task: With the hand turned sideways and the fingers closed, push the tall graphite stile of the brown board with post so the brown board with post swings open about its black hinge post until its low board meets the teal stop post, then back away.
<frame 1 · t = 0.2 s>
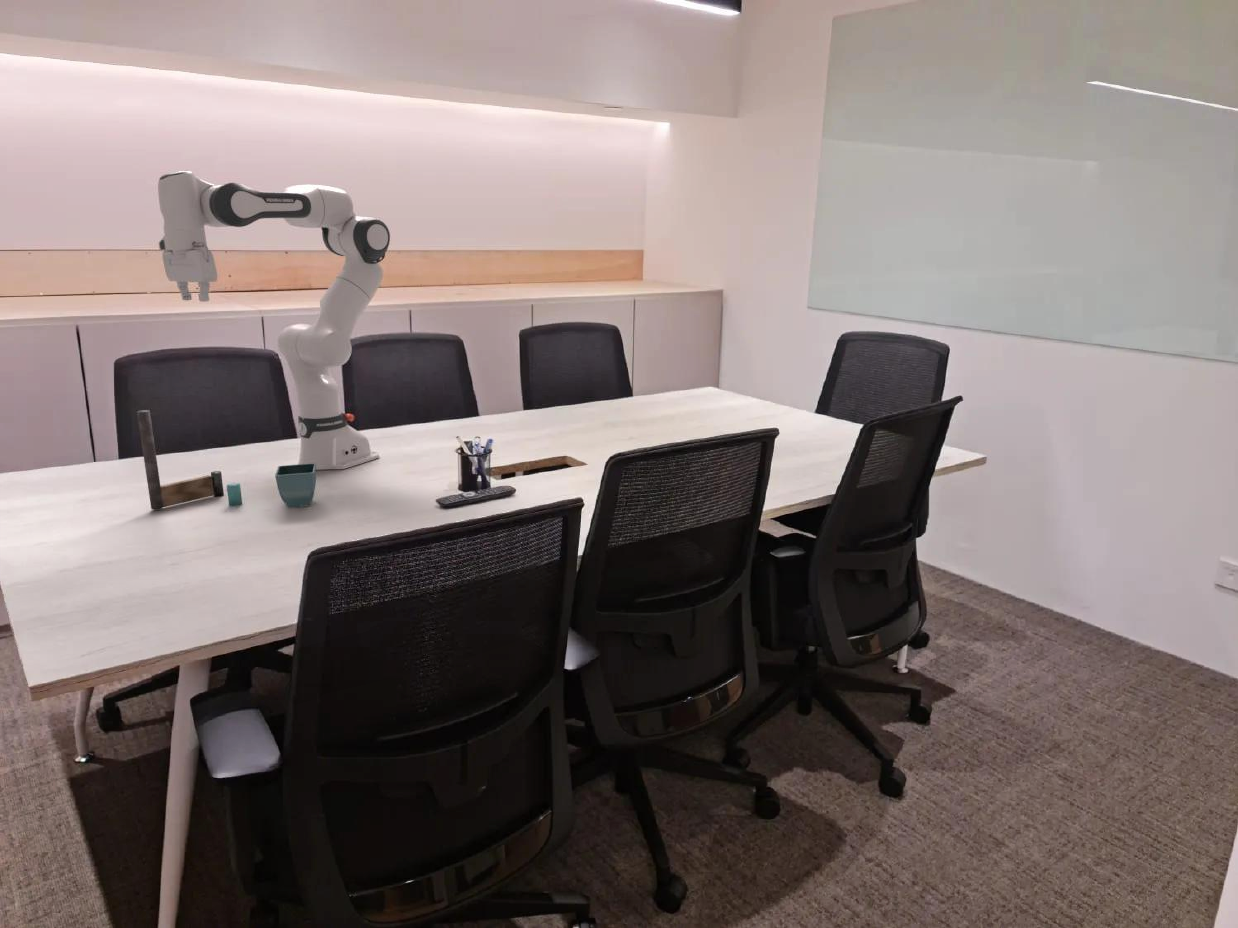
hand: (195, 300, 216), 48 cm above the table, tool pointing down, fingers open, 8 cm apart
hinge post: (218, 495, 223), on the table
flower pot: (299, 505, 216), on the table
brown board with post: (176, 455, 213), point 12 cm above the table, hinge at 0.0°
stop post: (235, 504, 216), on the table
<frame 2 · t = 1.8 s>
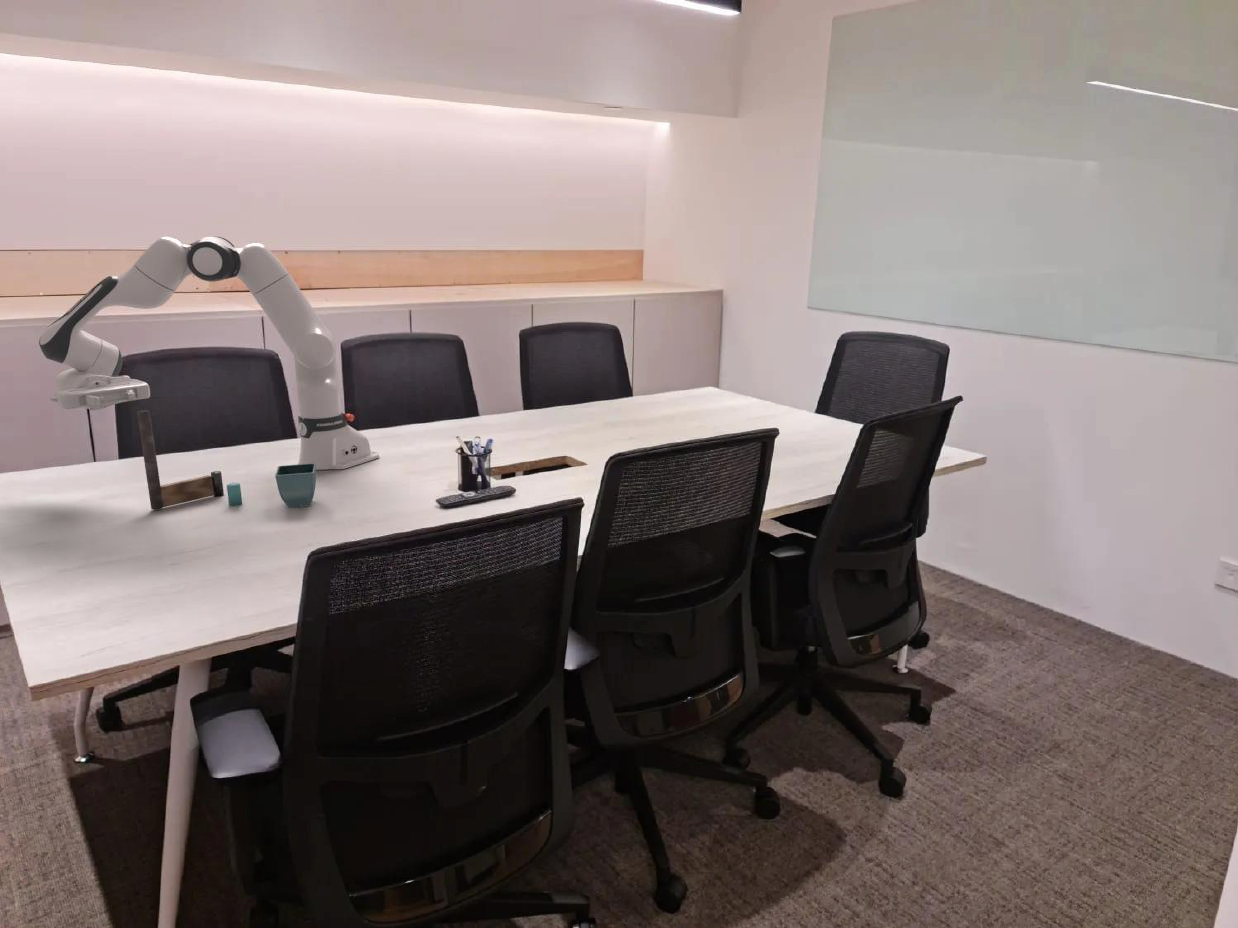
hand: (117, 399, 214), 25 cm above the table, tool horizontal, fingers open, 5 cm apart
nothing on the table moved.
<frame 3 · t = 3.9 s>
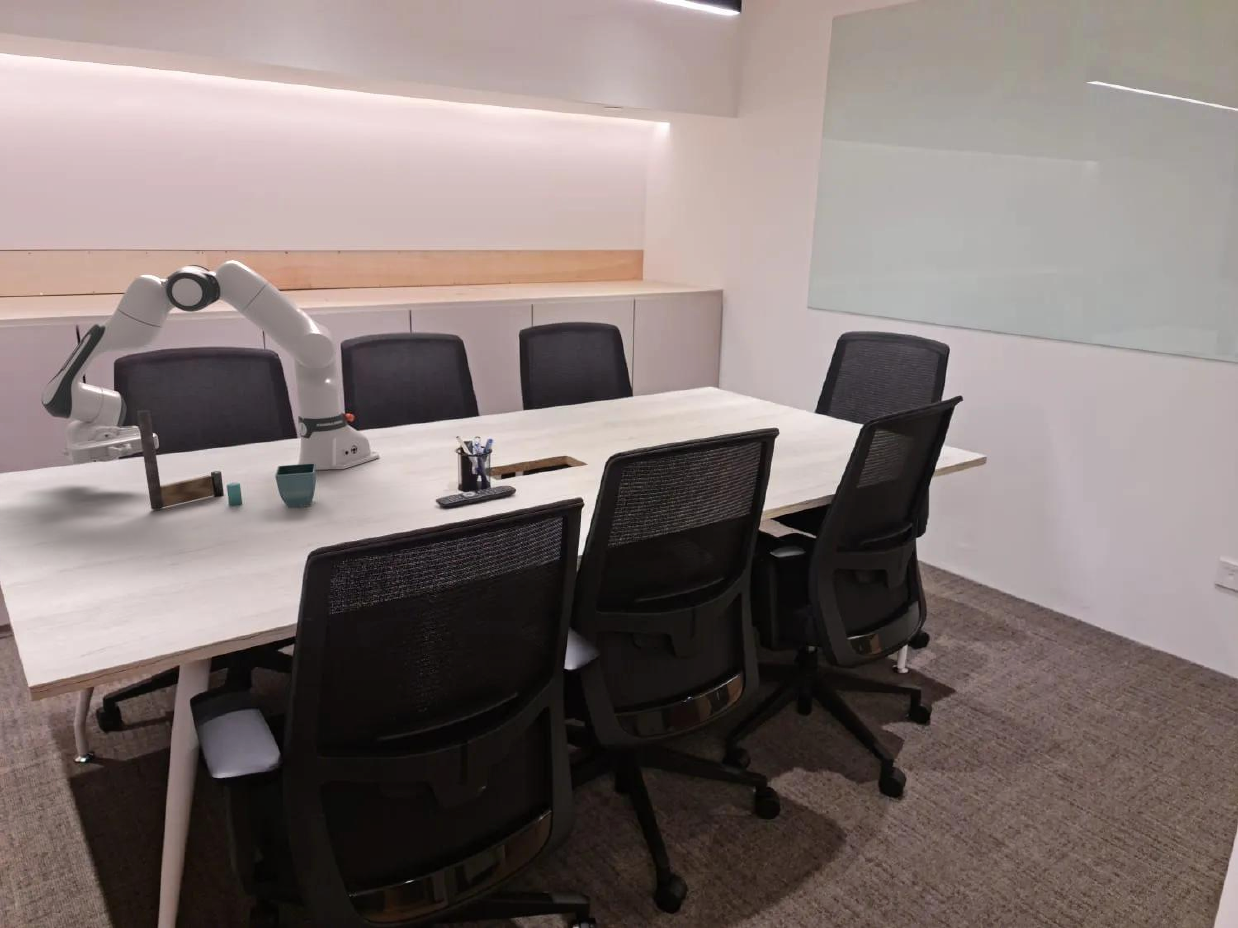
hand: (126, 452, 217), 12 cm above the table, tool horizontal, fingers closed
nothing on the table moved.
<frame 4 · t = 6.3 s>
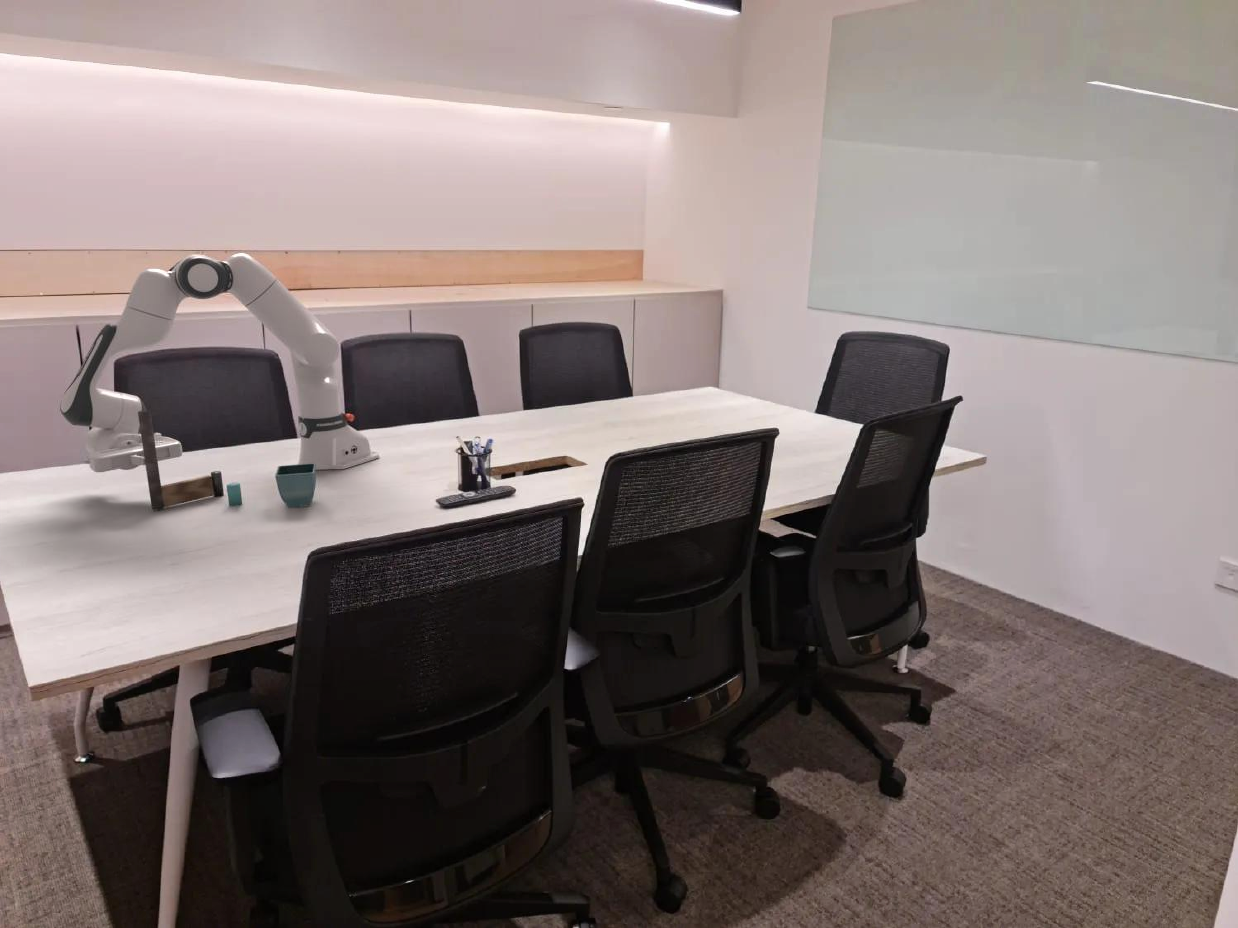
hand: (149, 460, 209), 12 cm above the table, tool horizontal, fingers closed, pressing on brown board with post
brown board with post: (176, 455, 213), point 12 cm above the table, hinge at 1.4°, touching gripper
everything else where it was.
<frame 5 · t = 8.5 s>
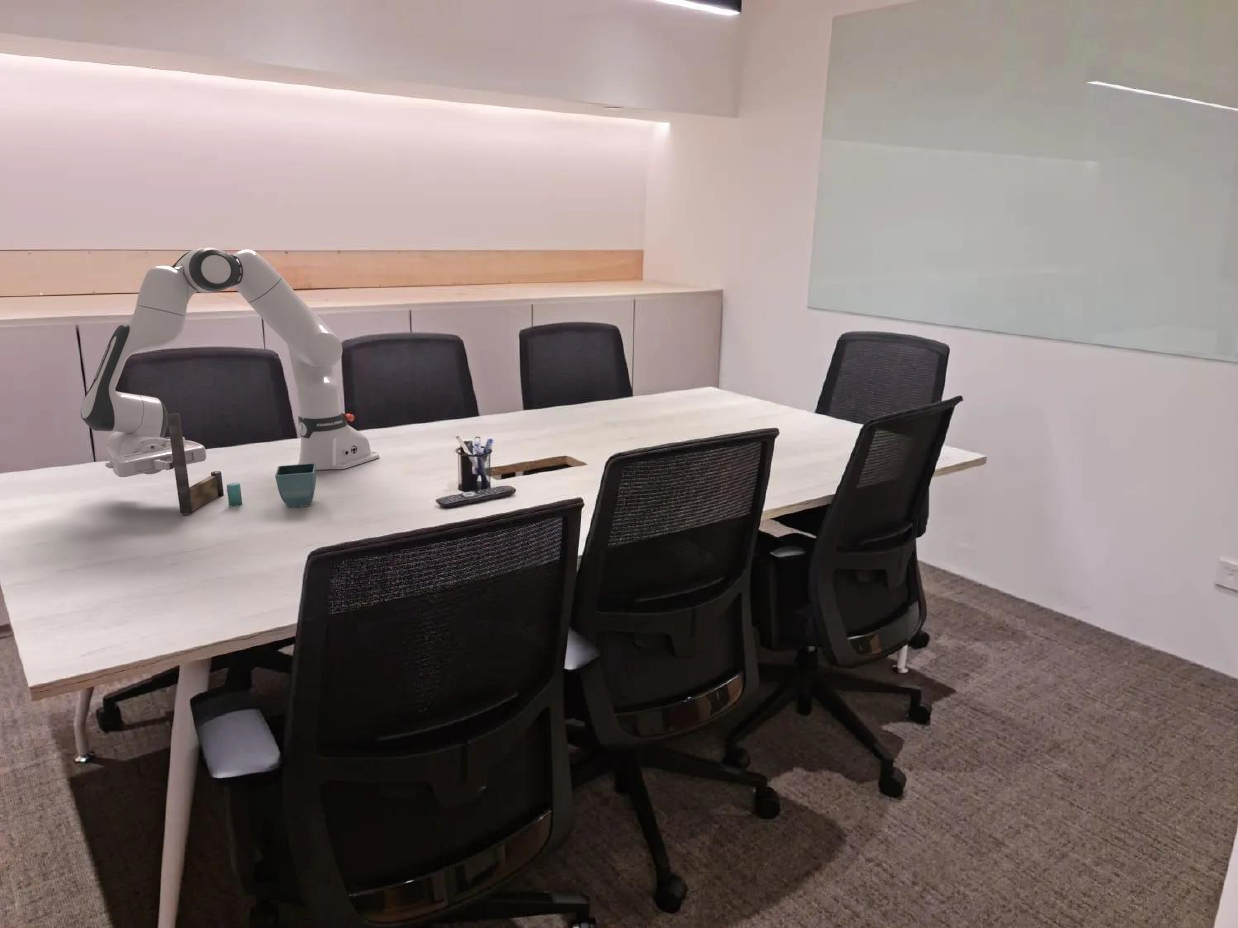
hand: (174, 465, 206), 12 cm above the table, tool horizontal, fingers closed
brown board with post: (193, 457, 211), point 12 cm above the table, hinge at 35.8°, touching gripper
everything else where it was.
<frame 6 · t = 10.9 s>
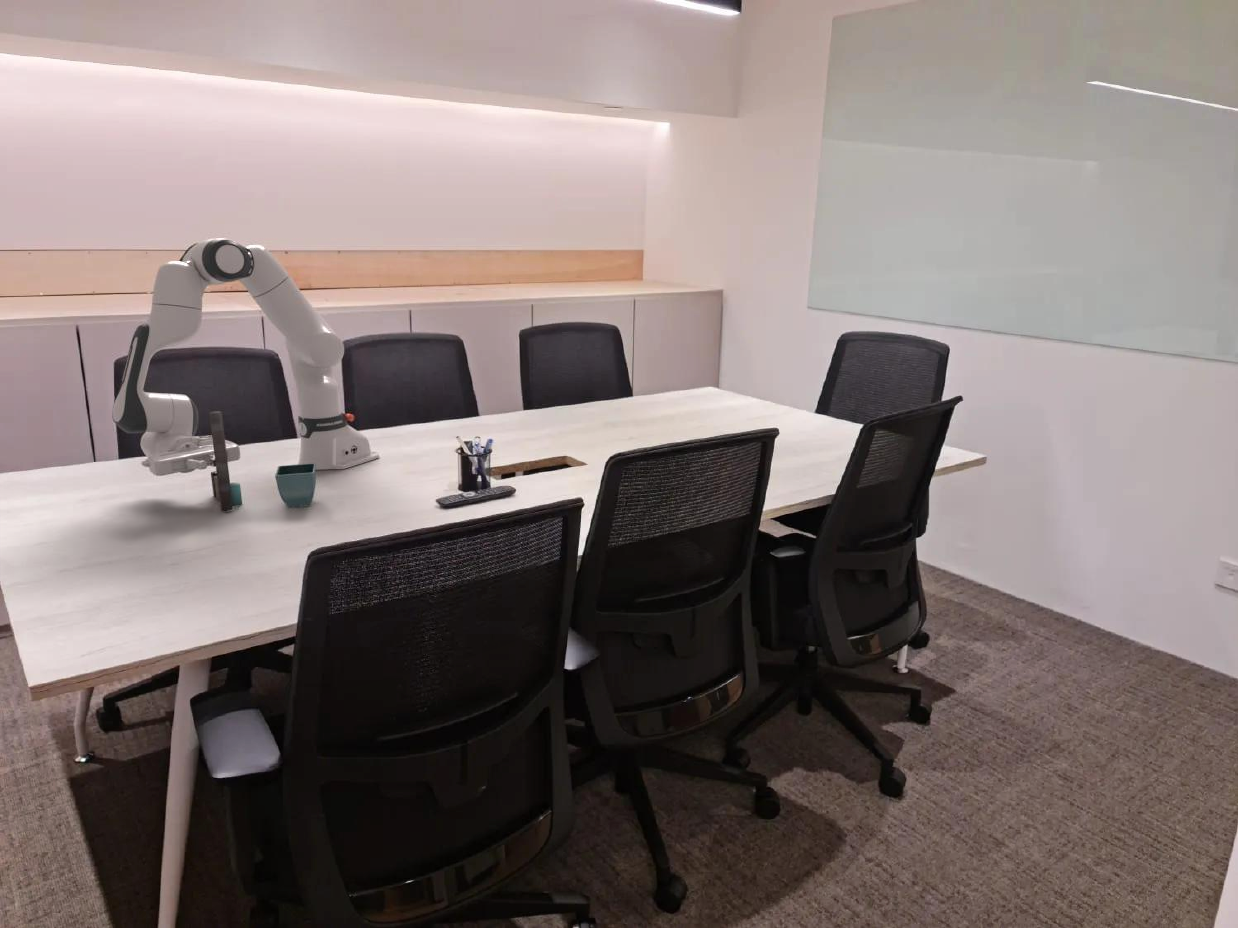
hand: (210, 464, 207), 12 cm above the table, tool horizontal, fingers closed
brown board with post: (217, 456, 212), point 12 cm above the table, hinge at 70.4°, touching gripper
everything else where it was.
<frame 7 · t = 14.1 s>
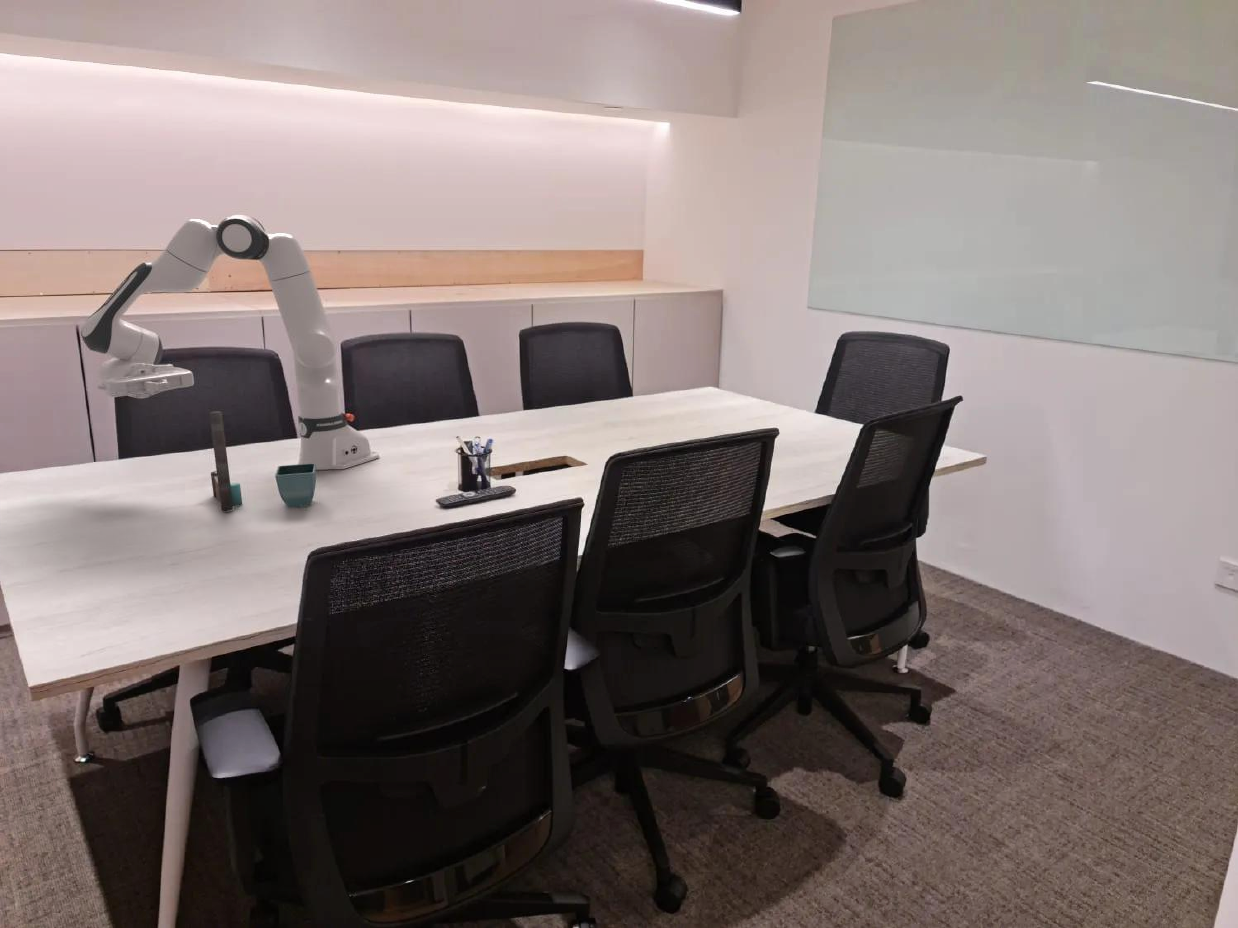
hand: (163, 386, 217), 27 cm above the table, tool horizontal, fingers closed
brown board with post: (217, 456, 212), point 12 cm above the table, hinge at 70.5°
everything else where it was.
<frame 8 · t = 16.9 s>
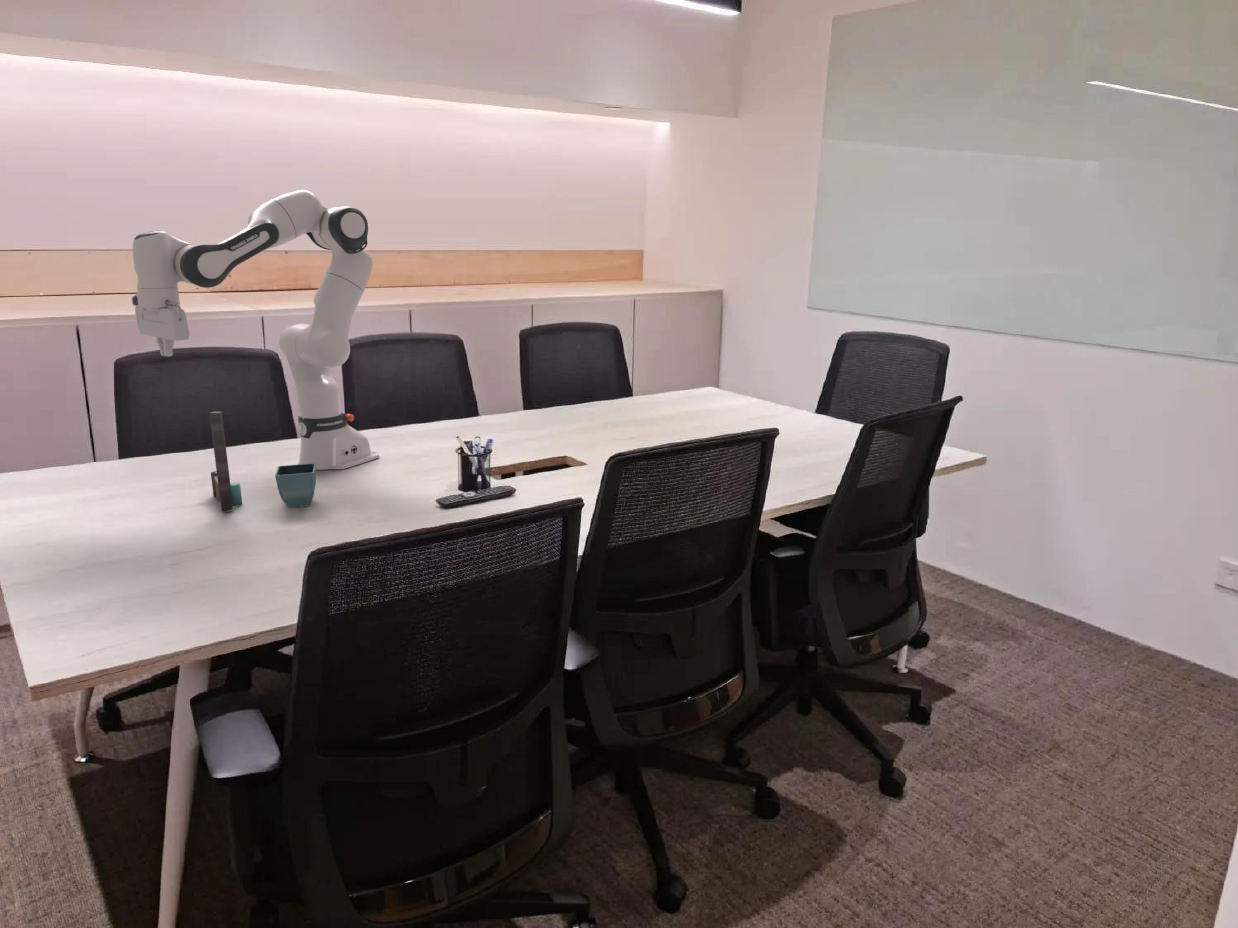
hand: (167, 355, 221), 34 cm above the table, tool pointing down, fingers closed
nothing on the table moved.
at the end: brown board with post at +70° (first picture: +0°); flower pot moved 0.3 cm from its start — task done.
